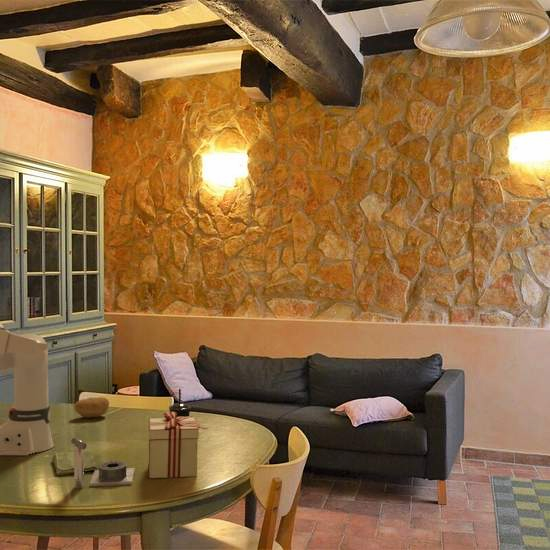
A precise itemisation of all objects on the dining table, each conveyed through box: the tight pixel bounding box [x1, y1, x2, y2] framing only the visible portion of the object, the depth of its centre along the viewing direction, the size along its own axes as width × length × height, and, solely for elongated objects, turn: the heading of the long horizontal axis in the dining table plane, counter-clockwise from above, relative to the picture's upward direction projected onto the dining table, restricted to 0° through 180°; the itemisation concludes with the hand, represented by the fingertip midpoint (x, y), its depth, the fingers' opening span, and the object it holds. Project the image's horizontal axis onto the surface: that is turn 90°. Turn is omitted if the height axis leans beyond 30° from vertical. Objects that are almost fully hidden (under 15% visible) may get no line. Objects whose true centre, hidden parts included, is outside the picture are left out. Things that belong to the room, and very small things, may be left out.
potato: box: [73, 396, 110, 419], centre depth 271 cm, size 10×14×8 cm
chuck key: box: [70, 437, 87, 490], centre depth 189 cm, size 7×3×14 cm, turn 38°
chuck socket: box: [89, 460, 136, 487], centre depth 197 cm, size 12×12×4 cm
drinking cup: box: [168, 388, 192, 417], centre depth 231 cm, size 8×8×20 cm
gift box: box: [147, 411, 209, 479], centre depth 205 cm, size 17×18×17 cm
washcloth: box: [51, 450, 99, 476], centre depth 209 cm, size 13×18×3 cm
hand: (40, 345), depth 187 cm, fingers open, 8 cm apart
